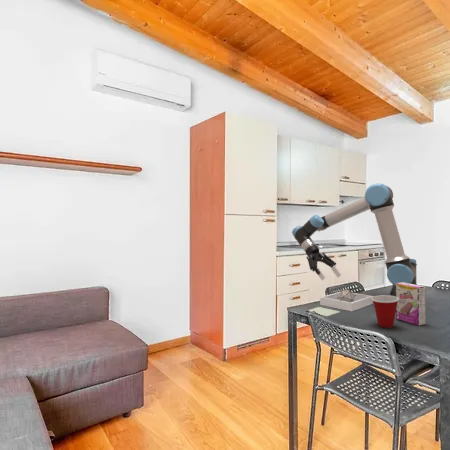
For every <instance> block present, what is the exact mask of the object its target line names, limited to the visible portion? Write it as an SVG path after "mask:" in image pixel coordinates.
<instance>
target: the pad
mask: <svg viewBox="0 0 450 450" xmlns="http://www.w3.org/2000/svg"><path fill="white" fill-rule="evenodd" d="M308 310H309V311H315V312H316V313H318V314H320V315H319V316H321V315H322V317H331V316H333V315H336V314H339V313H341V312H340V311H339V310H334V309H330V308H325V307H321V306H317V307H314V308H311V309H308Z"/></svg>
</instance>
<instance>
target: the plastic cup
mask: <svg viewBox="0 0 450 450" xmlns="http://www.w3.org/2000/svg"><path fill="white" fill-rule="evenodd" d="M371 300H372V301H373V307H374V311H375V315H376V316H375V317H376V320H377V324H378V327H381V328H389V329H390V328H393V327H394V325H395V324H394V323H395V320H396V307H397V303H398V301H399V298H398V297H395V296H389V294H388V295H387V294H386V295H375V296H374V295H373V297H372V298H371Z"/></svg>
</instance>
